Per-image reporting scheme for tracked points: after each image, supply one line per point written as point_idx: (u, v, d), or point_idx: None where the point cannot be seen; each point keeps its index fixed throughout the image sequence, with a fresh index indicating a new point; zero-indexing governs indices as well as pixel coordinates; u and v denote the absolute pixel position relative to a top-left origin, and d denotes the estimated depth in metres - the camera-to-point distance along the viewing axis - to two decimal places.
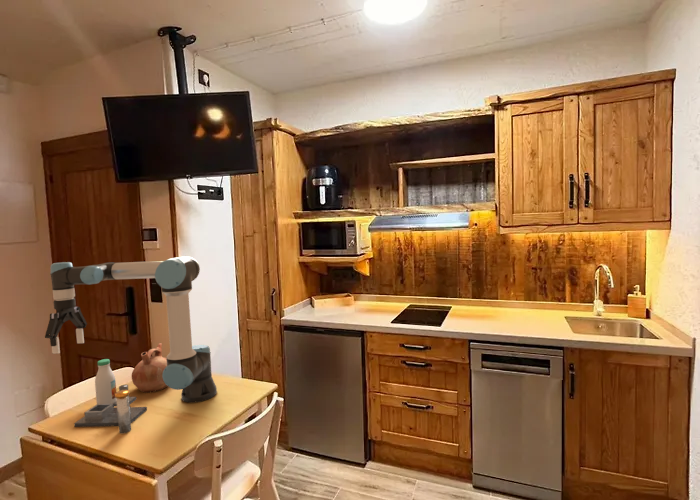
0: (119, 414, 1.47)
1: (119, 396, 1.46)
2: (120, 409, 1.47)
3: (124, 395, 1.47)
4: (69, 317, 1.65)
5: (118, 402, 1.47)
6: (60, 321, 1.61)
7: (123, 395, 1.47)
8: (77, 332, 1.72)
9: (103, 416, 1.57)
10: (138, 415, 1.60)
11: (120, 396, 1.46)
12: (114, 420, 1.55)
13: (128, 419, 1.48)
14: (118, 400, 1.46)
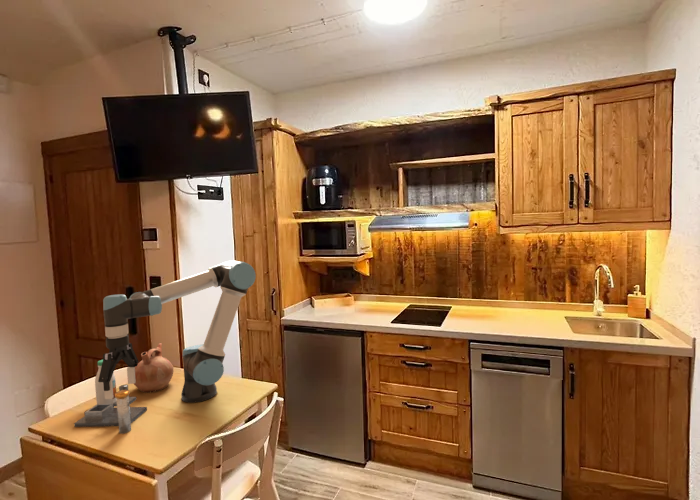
0: (119, 414, 1.47)
1: (119, 396, 1.46)
2: (120, 409, 1.47)
3: (124, 395, 1.47)
4: (122, 356, 1.48)
5: (118, 402, 1.47)
6: (113, 362, 1.43)
7: (123, 395, 1.47)
8: (128, 371, 1.54)
9: (103, 416, 1.57)
10: (138, 415, 1.60)
11: (120, 396, 1.46)
12: (114, 420, 1.55)
13: (128, 419, 1.48)
14: (118, 400, 1.46)
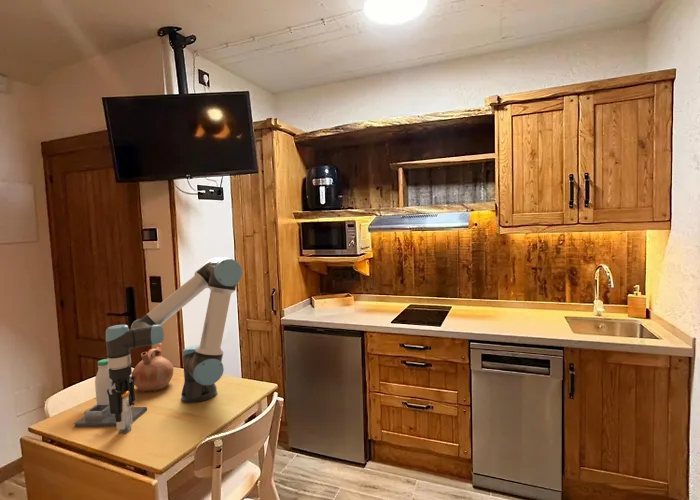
0: None
1: None
2: None
3: (125, 395, 1.47)
4: (125, 386, 1.49)
5: None
6: (119, 393, 1.46)
7: (123, 395, 1.47)
8: None
9: (103, 416, 1.57)
10: (138, 415, 1.60)
11: None
12: (114, 420, 1.55)
13: (128, 419, 1.48)
14: None
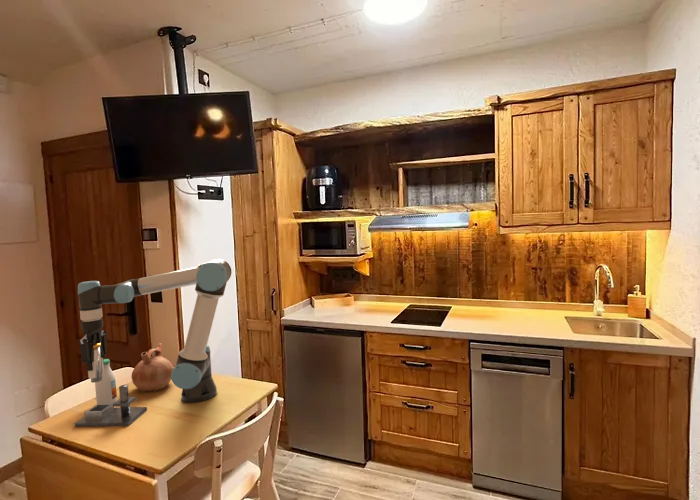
0: None
1: None
2: None
3: (96, 346, 1.56)
4: (96, 338, 1.58)
5: None
6: (90, 344, 1.55)
7: (94, 346, 1.56)
8: None
9: (103, 416, 1.57)
10: (138, 415, 1.60)
11: None
12: (114, 420, 1.55)
13: (99, 369, 1.58)
14: None
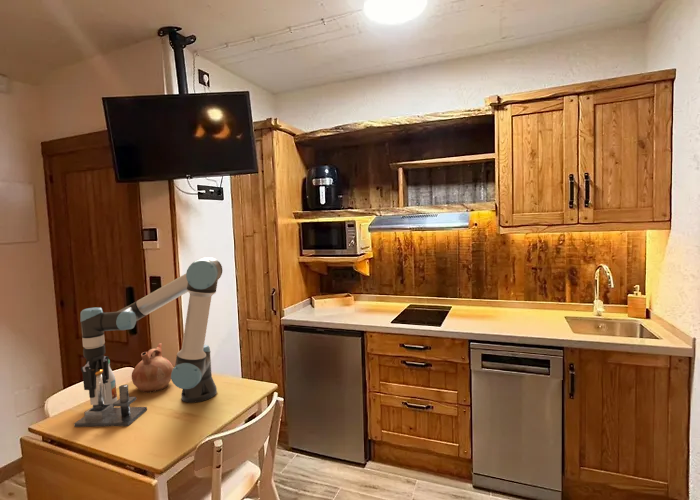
0: None
1: None
2: None
3: (98, 373, 1.57)
4: (99, 365, 1.59)
5: None
6: (93, 371, 1.56)
7: (96, 373, 1.57)
8: None
9: (103, 416, 1.57)
10: (138, 415, 1.60)
11: None
12: (114, 420, 1.55)
13: (101, 396, 1.59)
14: None
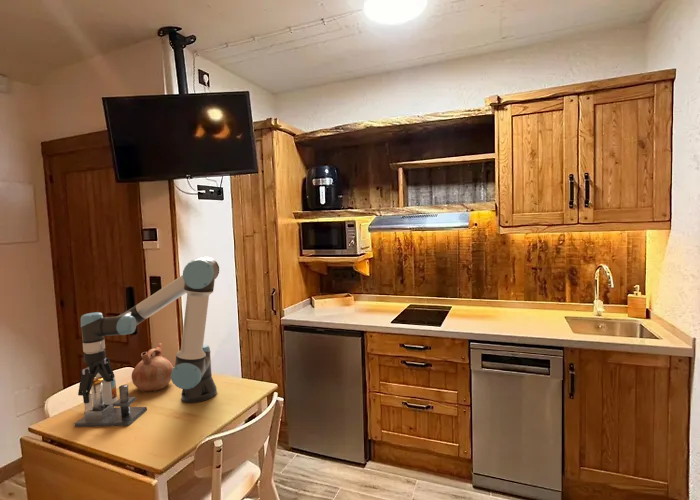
0: (93, 399, 1.57)
1: (93, 383, 1.56)
2: (94, 395, 1.57)
3: (98, 382, 1.57)
4: (99, 369, 1.59)
5: (92, 388, 1.57)
6: (91, 376, 1.55)
7: (97, 382, 1.57)
8: (105, 386, 1.65)
9: (103, 416, 1.57)
10: (138, 415, 1.60)
11: (94, 383, 1.56)
12: (114, 420, 1.55)
13: (102, 404, 1.59)
14: (92, 387, 1.57)
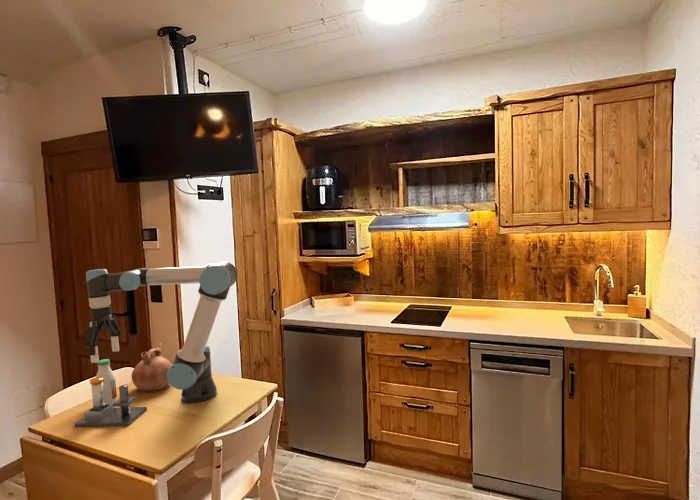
0: (94, 399, 1.58)
1: (94, 382, 1.57)
2: (95, 394, 1.57)
3: (99, 381, 1.58)
4: (105, 325, 1.62)
5: (92, 387, 1.57)
6: (98, 329, 1.57)
7: (97, 381, 1.57)
8: (112, 340, 1.68)
9: (103, 416, 1.57)
10: (138, 415, 1.60)
11: (95, 382, 1.57)
12: (114, 420, 1.55)
13: (102, 404, 1.59)
14: (93, 386, 1.57)
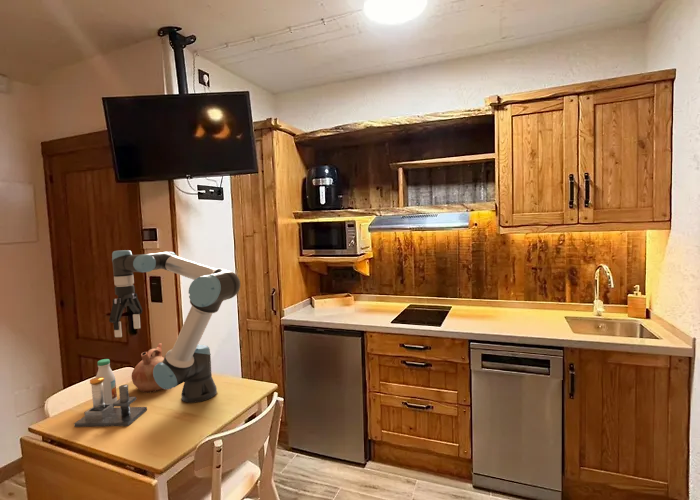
0: (94, 399, 1.58)
1: (94, 382, 1.57)
2: (95, 394, 1.57)
3: (99, 381, 1.58)
4: (128, 303, 1.72)
5: (92, 387, 1.57)
6: (121, 306, 1.68)
7: (97, 381, 1.57)
8: (134, 318, 1.79)
9: (103, 416, 1.57)
10: (138, 415, 1.60)
11: (95, 382, 1.57)
12: (114, 420, 1.55)
13: (102, 404, 1.59)
14: (93, 386, 1.57)
